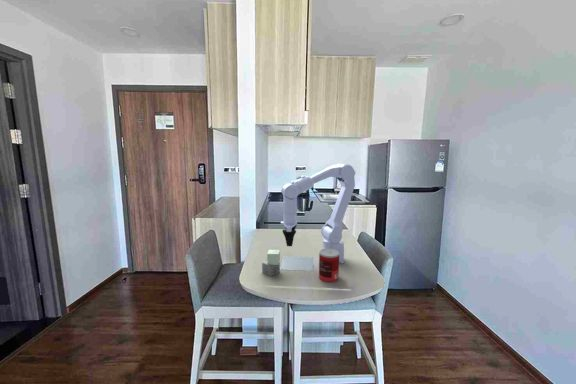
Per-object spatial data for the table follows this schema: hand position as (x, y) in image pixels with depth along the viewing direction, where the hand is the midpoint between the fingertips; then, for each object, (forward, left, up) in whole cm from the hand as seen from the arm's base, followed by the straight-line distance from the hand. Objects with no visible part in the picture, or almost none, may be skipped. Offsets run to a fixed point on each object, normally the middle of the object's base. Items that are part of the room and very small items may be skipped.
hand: (290, 242), depth 117 cm
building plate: (-3, -1, -10) cm, 11 cm away
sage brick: (+6, +9, -5) cm, 12 cm away
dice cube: (+7, +9, -10) cm, 16 cm away
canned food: (-16, +11, -10) cm, 22 cm away
